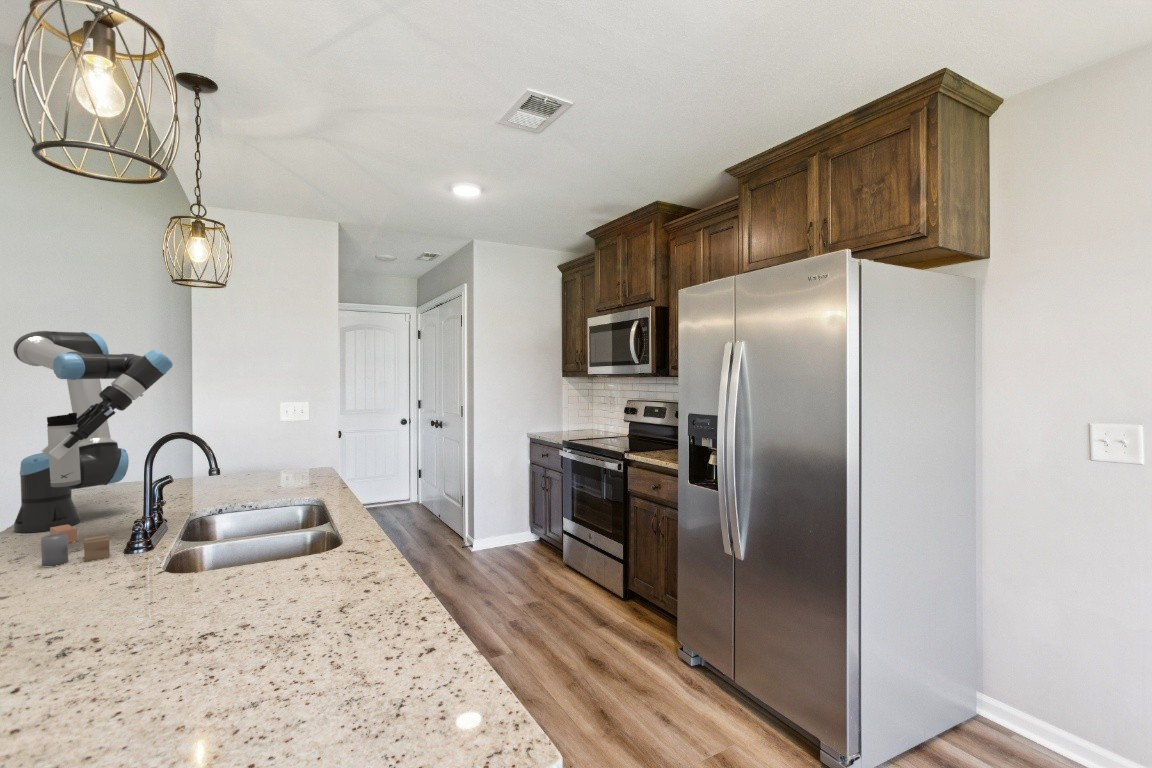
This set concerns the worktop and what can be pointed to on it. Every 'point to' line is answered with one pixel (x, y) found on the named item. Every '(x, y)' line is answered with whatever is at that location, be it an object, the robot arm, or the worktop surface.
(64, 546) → the grey cylinder
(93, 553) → the walnut block
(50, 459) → the travel mug
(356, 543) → the worktop surface
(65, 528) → the terracotta brick
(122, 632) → the worktop surface
